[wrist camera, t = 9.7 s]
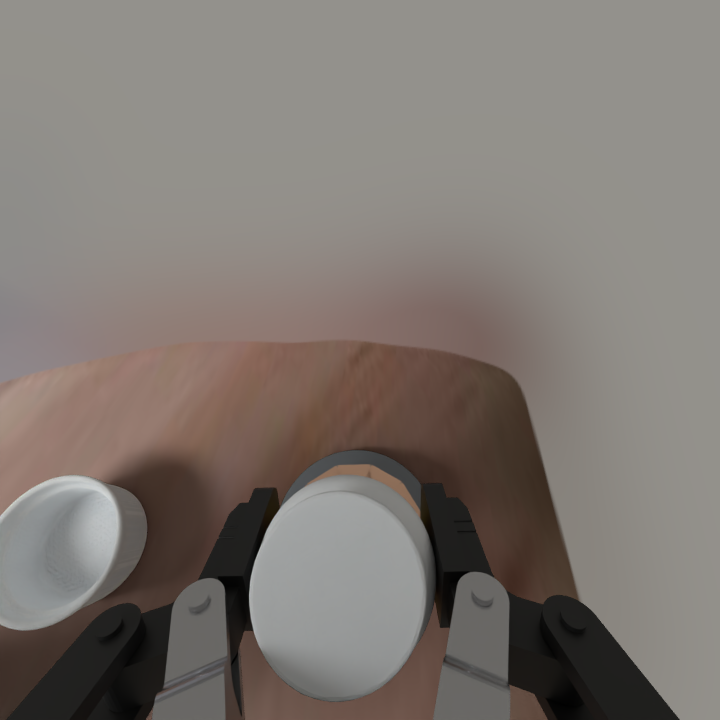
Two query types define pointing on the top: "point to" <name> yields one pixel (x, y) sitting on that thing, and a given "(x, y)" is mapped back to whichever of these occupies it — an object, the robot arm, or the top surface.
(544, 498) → the top surface
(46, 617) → the ramekin
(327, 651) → the supplement bottle
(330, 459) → the holder
